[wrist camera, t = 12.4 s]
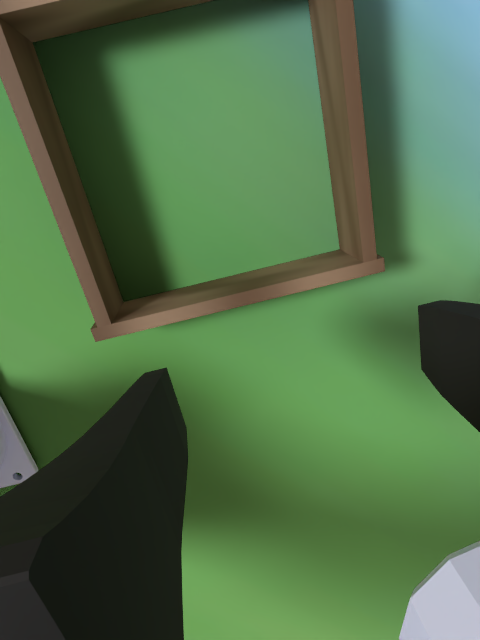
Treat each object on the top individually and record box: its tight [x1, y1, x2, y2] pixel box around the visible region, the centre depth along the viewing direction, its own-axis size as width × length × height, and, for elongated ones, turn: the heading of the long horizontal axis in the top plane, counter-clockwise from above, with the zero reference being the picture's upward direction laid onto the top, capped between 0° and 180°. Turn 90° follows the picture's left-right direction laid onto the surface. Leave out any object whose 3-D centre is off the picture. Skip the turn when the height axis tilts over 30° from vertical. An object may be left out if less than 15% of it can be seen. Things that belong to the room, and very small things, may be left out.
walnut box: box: [0, 0, 385, 342], centre depth 16 cm, size 13×12×3 cm
